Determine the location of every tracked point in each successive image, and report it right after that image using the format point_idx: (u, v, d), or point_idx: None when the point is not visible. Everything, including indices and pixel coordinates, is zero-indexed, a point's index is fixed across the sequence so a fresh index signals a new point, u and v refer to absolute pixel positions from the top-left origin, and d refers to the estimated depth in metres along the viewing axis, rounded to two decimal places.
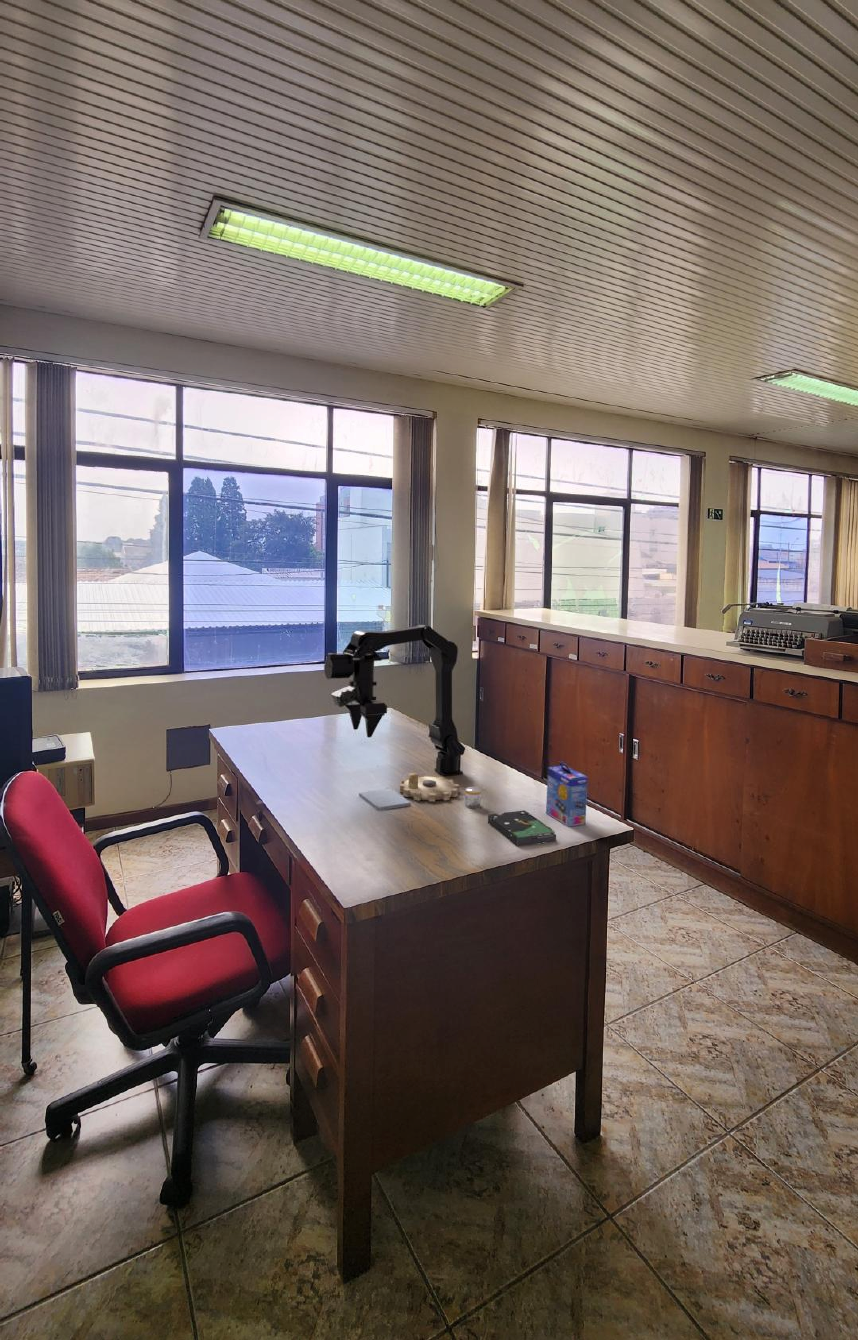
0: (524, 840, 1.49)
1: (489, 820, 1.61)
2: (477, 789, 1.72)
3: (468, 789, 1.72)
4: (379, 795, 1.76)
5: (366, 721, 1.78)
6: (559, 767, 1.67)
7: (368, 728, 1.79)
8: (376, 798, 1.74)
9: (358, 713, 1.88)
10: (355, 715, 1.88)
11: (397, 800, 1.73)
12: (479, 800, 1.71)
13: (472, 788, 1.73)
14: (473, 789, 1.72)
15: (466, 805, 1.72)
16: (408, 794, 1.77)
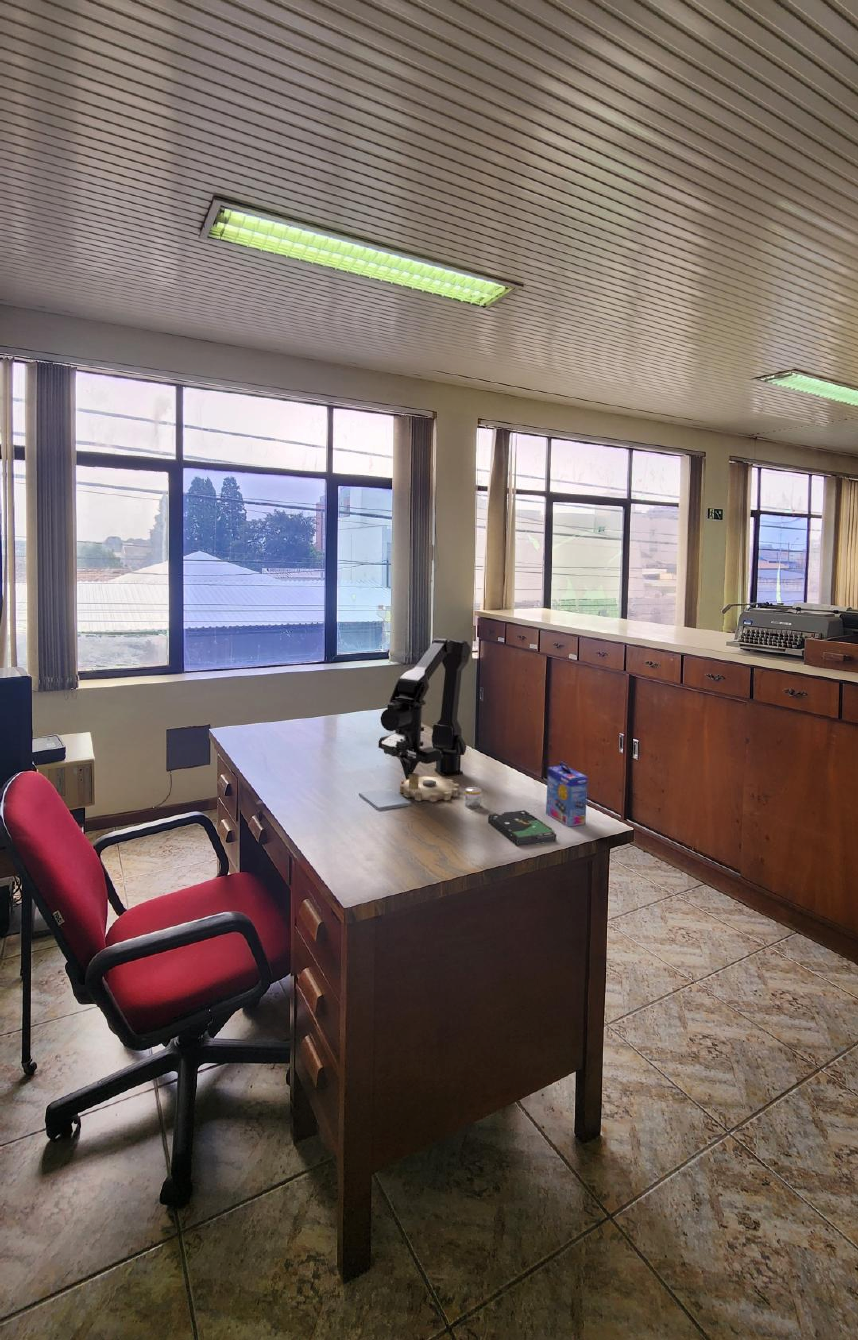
0: (524, 840, 1.49)
1: (489, 819, 1.61)
2: (477, 789, 1.72)
3: (468, 789, 1.72)
4: (379, 795, 1.76)
5: (407, 764, 1.78)
6: (559, 767, 1.67)
7: (408, 771, 1.79)
8: (376, 798, 1.74)
9: None
10: None
11: (397, 800, 1.73)
12: (479, 800, 1.71)
13: (472, 788, 1.73)
14: (473, 789, 1.72)
15: (466, 805, 1.72)
16: (409, 794, 1.77)
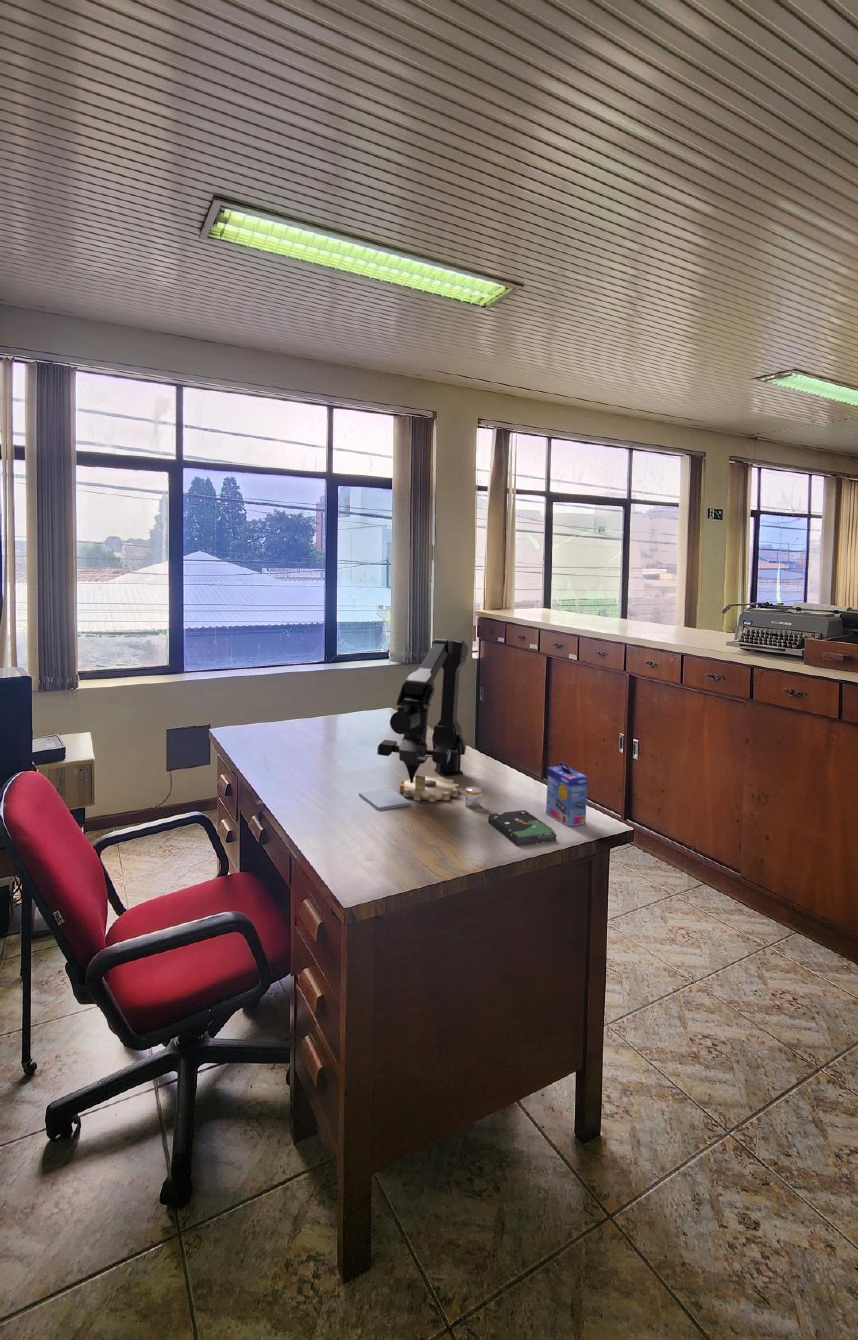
0: (524, 840, 1.49)
1: (489, 819, 1.61)
2: (477, 789, 1.72)
3: (468, 789, 1.72)
4: (379, 795, 1.76)
5: (415, 767, 1.76)
6: (559, 767, 1.67)
7: (414, 774, 1.77)
8: (376, 798, 1.74)
9: (413, 765, 1.78)
10: None
11: (397, 800, 1.73)
12: (479, 800, 1.71)
13: (472, 788, 1.73)
14: (473, 789, 1.72)
15: (466, 805, 1.72)
16: (420, 797, 1.75)
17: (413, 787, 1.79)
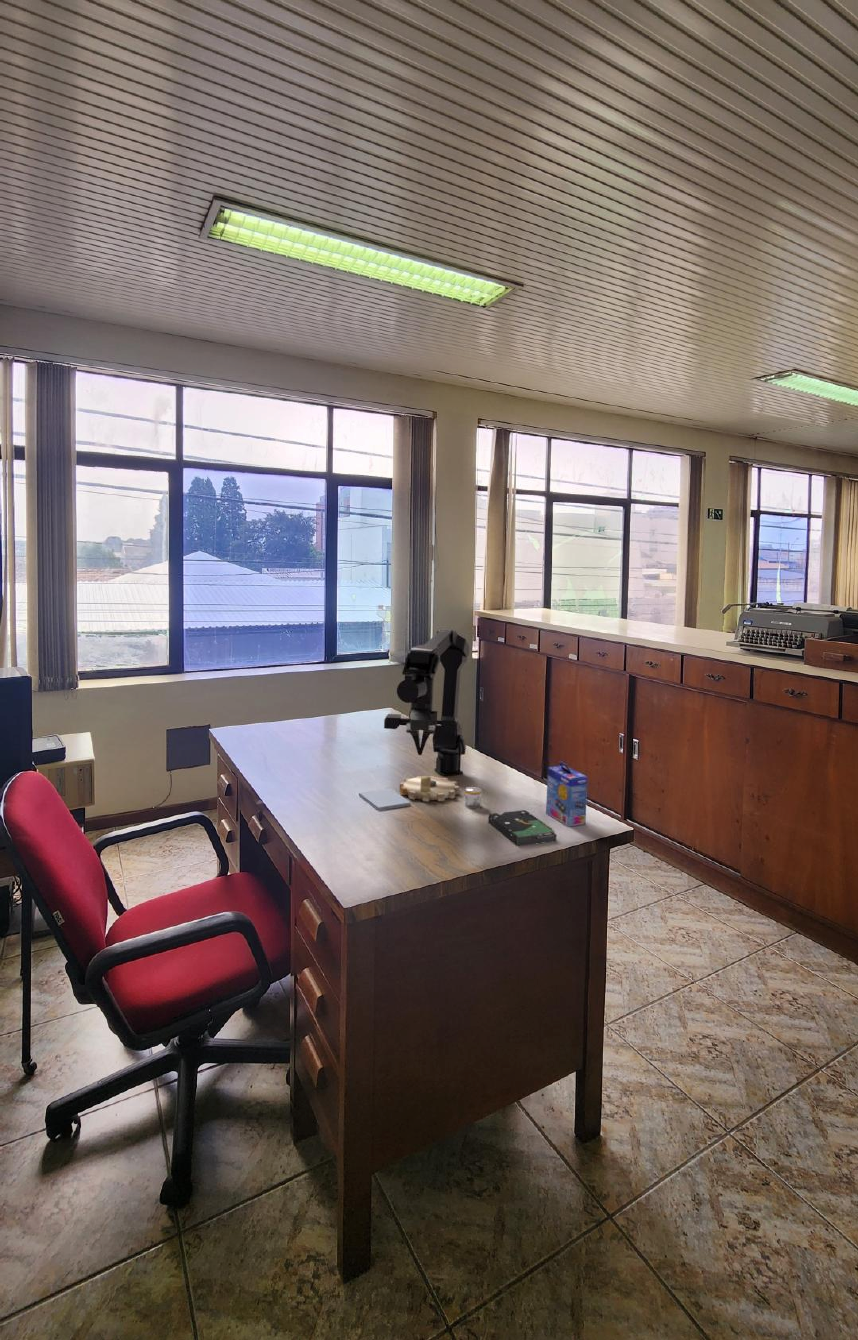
0: (524, 840, 1.49)
1: (489, 819, 1.61)
2: (477, 789, 1.72)
3: (468, 789, 1.72)
4: (379, 795, 1.76)
5: (425, 738, 1.73)
6: (559, 767, 1.67)
7: (423, 746, 1.74)
8: (376, 798, 1.74)
9: (419, 737, 1.76)
10: None
11: (397, 800, 1.73)
12: (479, 800, 1.71)
13: (472, 788, 1.73)
14: (473, 789, 1.72)
15: (466, 805, 1.72)
16: (429, 798, 1.75)
17: (417, 789, 1.78)
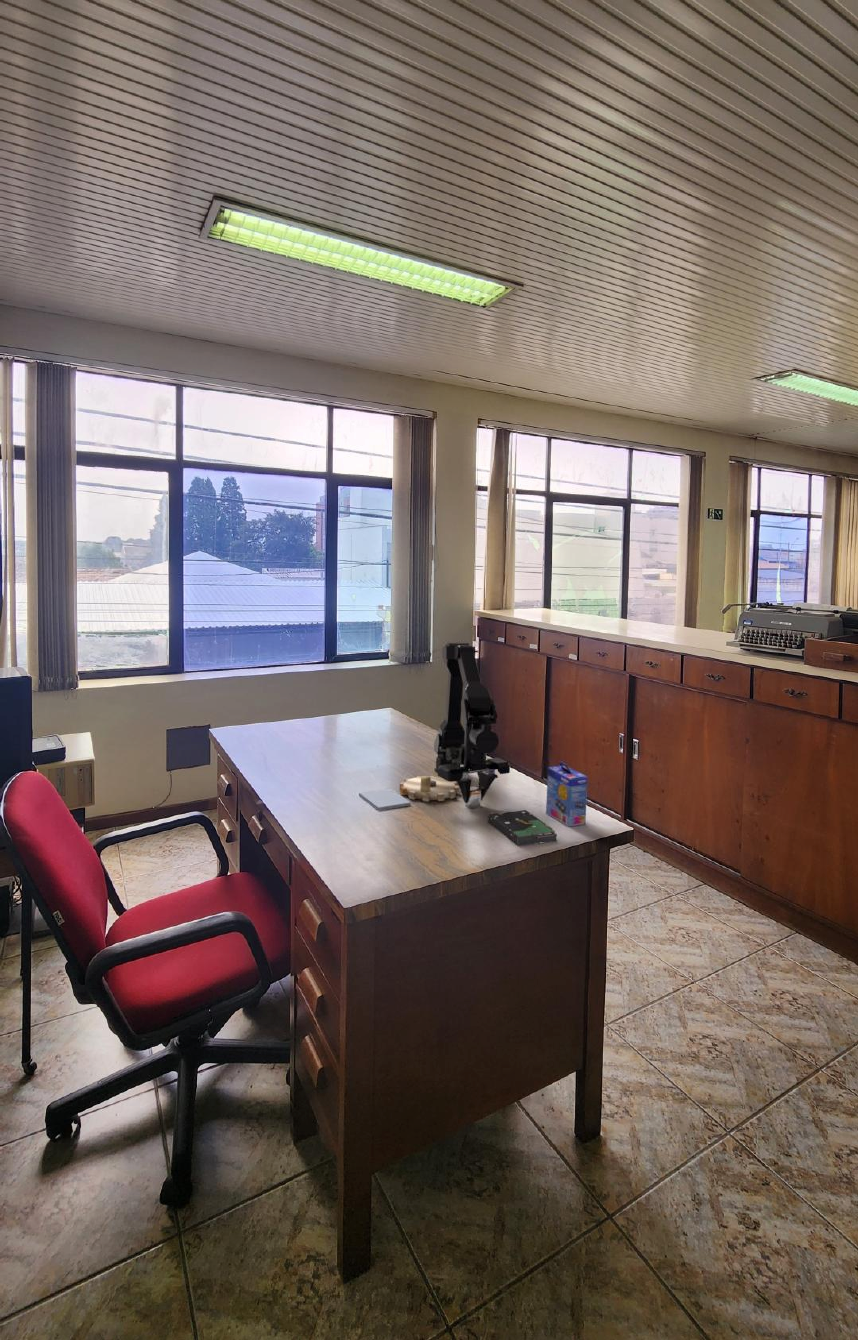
0: (524, 840, 1.49)
1: (490, 819, 1.61)
2: (477, 789, 1.72)
3: None
4: (379, 795, 1.76)
5: None
6: (559, 767, 1.67)
7: (462, 792, 1.71)
8: (376, 798, 1.74)
9: (483, 784, 1.72)
10: (481, 785, 1.73)
11: (397, 800, 1.73)
12: (479, 800, 1.71)
13: (472, 788, 1.73)
14: (473, 789, 1.72)
15: (466, 804, 1.72)
16: (429, 798, 1.75)
17: (417, 789, 1.78)
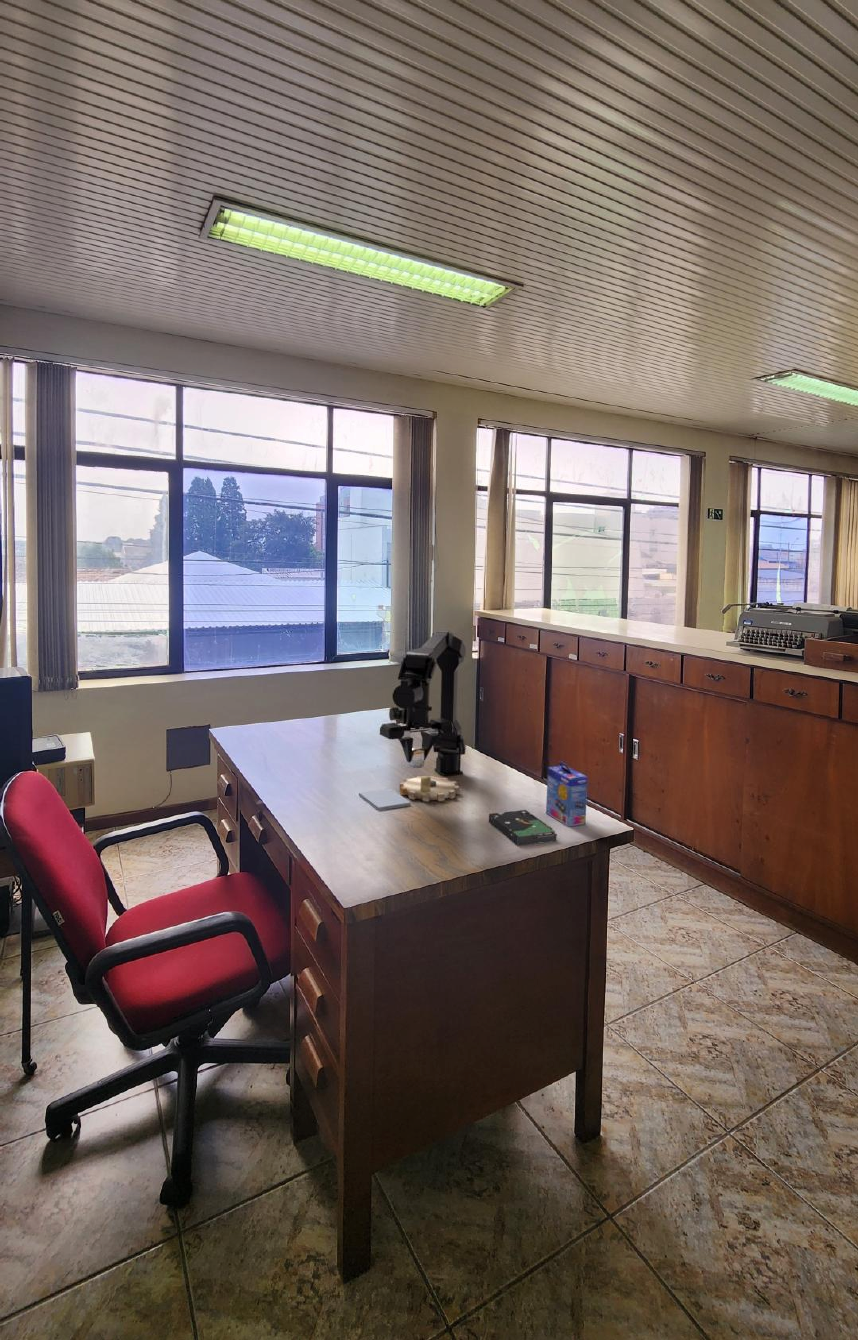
0: (524, 840, 1.49)
1: (490, 819, 1.61)
2: (420, 749, 1.72)
3: None
4: (379, 795, 1.76)
5: None
6: (559, 767, 1.67)
7: (404, 751, 1.71)
8: (376, 798, 1.74)
9: (426, 743, 1.72)
10: (424, 744, 1.73)
11: (397, 800, 1.73)
12: (422, 759, 1.71)
13: (415, 748, 1.72)
14: (416, 749, 1.71)
15: (409, 764, 1.71)
16: (429, 798, 1.75)
17: (417, 789, 1.78)
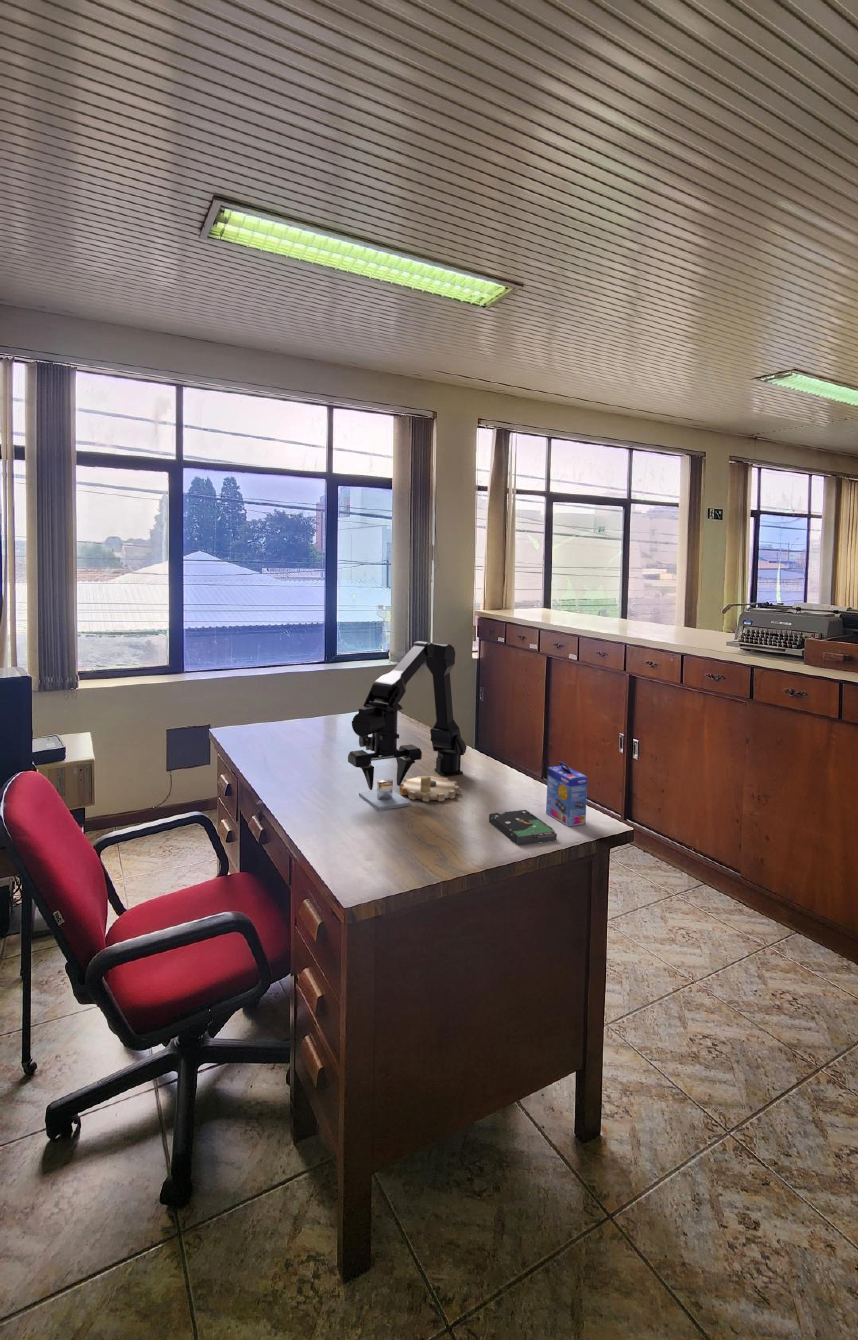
0: (524, 839, 1.49)
1: (490, 819, 1.61)
2: (388, 781, 1.74)
3: (379, 781, 1.74)
4: None
5: None
6: (559, 767, 1.67)
7: (366, 779, 1.72)
8: (376, 798, 1.74)
9: (401, 769, 1.75)
10: (399, 770, 1.76)
11: (397, 800, 1.73)
12: (390, 791, 1.73)
13: (384, 780, 1.74)
14: (384, 781, 1.74)
15: (377, 796, 1.73)
16: (429, 798, 1.75)
17: (417, 789, 1.78)
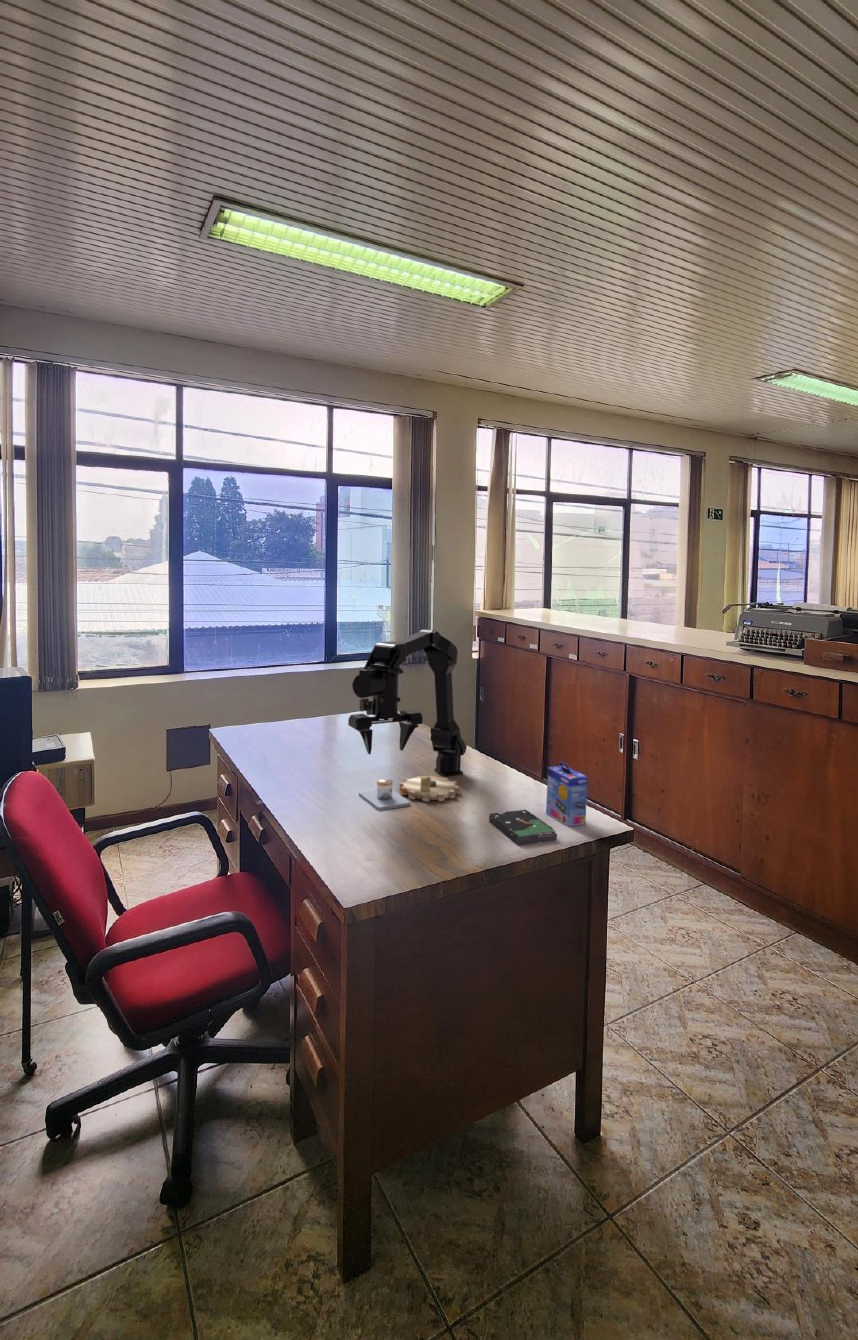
0: (525, 839, 1.49)
1: (490, 819, 1.61)
2: (388, 780, 1.74)
3: (379, 780, 1.74)
4: None
5: None
6: (559, 767, 1.67)
7: (365, 743, 1.70)
8: (376, 798, 1.74)
9: (404, 734, 1.74)
10: (402, 735, 1.74)
11: (397, 800, 1.73)
12: (390, 791, 1.73)
13: (384, 779, 1.75)
14: (384, 780, 1.74)
15: (377, 796, 1.74)
16: (429, 798, 1.75)
17: (417, 789, 1.78)
